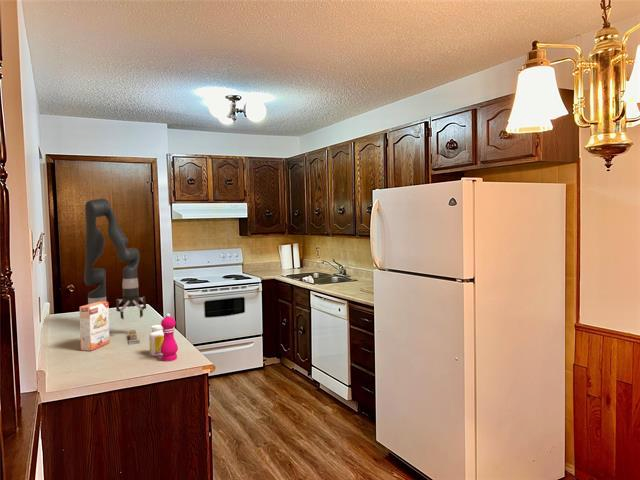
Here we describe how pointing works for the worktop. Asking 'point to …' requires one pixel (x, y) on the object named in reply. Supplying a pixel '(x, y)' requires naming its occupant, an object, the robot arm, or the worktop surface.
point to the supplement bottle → (156, 340)
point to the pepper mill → (168, 339)
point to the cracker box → (94, 325)
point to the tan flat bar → (133, 337)
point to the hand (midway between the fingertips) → (131, 318)
